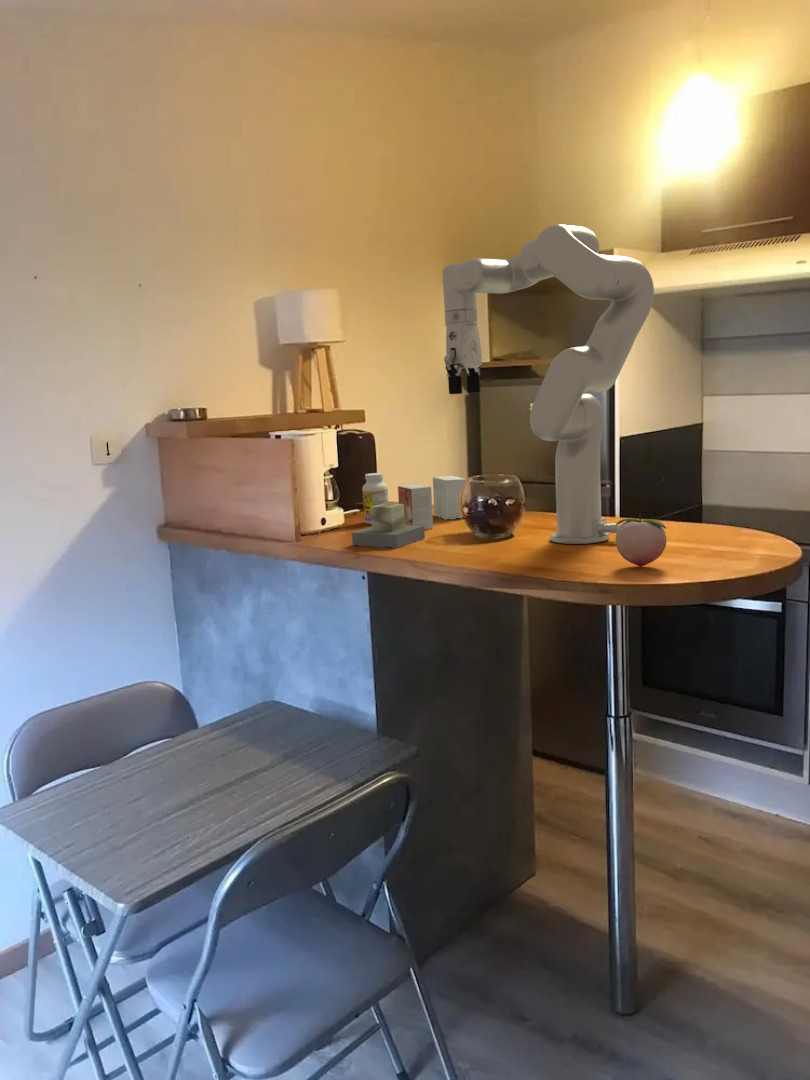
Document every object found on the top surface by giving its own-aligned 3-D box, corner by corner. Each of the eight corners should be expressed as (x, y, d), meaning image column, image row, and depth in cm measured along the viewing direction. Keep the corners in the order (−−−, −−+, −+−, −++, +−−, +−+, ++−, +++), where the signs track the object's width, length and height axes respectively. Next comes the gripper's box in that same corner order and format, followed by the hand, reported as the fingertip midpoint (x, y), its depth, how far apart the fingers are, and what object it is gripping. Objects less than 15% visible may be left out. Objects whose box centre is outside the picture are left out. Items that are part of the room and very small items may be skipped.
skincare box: (469, 518, 239) (467, 478, 237) (445, 520, 237) (443, 480, 235) (456, 513, 249) (454, 474, 247) (433, 515, 247) (431, 476, 245)
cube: (405, 527, 210) (403, 503, 210) (392, 531, 206) (391, 507, 205) (384, 526, 213) (383, 503, 212) (372, 530, 209) (370, 507, 208)
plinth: (424, 538, 212) (424, 525, 211) (397, 548, 202) (396, 534, 201) (381, 536, 218) (380, 524, 218) (352, 545, 208) (351, 532, 208)
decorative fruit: (610, 571, 167) (609, 517, 165) (619, 562, 174) (618, 510, 172) (663, 573, 163) (663, 517, 161) (670, 563, 170) (669, 510, 169)
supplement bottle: (362, 522, 243) (359, 473, 240) (386, 519, 244) (383, 471, 242) (367, 525, 236) (364, 476, 234) (392, 523, 238) (389, 474, 235)
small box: (399, 527, 231) (397, 485, 229) (419, 524, 233) (417, 483, 231) (413, 531, 223) (410, 488, 222) (433, 528, 226) (431, 486, 224)
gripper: (458, 316, 205) (463, 393, 208) (491, 318, 219) (494, 390, 222) (429, 319, 208) (433, 395, 211) (463, 321, 223) (466, 392, 226)
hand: (465, 393), depth 217 cm, fingers open, 9 cm apart
